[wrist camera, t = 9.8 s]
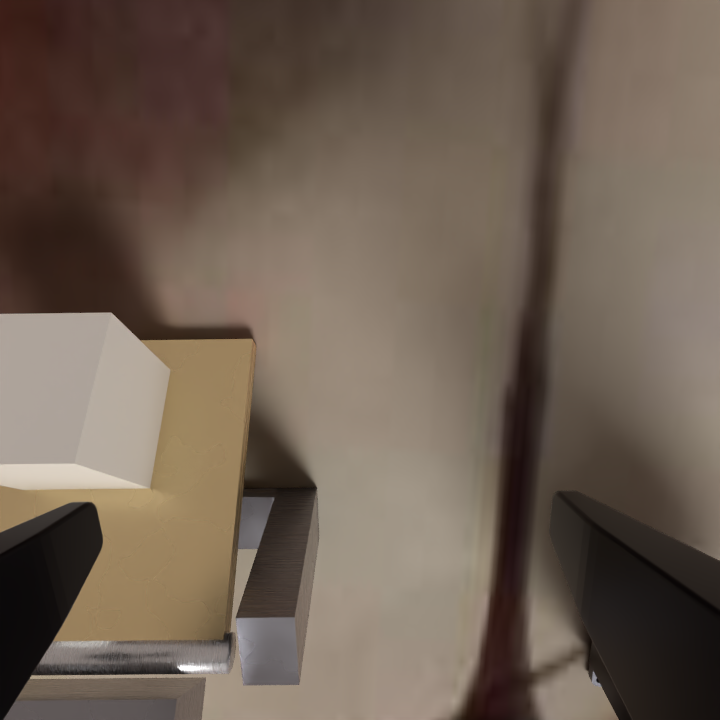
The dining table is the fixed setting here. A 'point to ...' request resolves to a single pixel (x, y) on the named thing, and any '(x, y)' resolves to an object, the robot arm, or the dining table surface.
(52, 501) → the trapdoor
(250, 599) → the frame
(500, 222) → the dining table surface
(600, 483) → the dining table surface
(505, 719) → the dining table surface
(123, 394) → the cube
